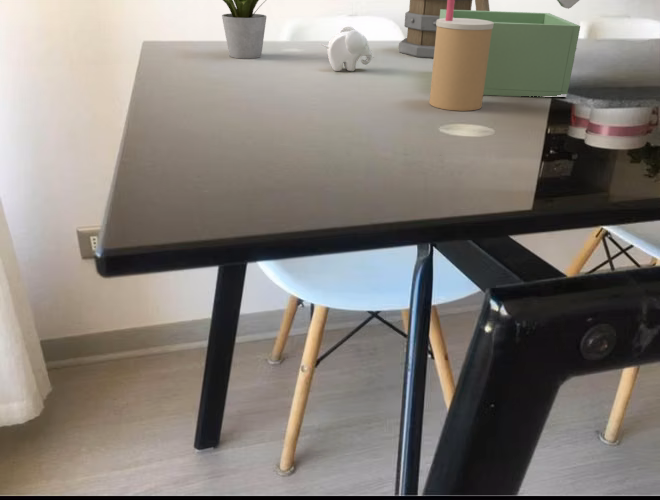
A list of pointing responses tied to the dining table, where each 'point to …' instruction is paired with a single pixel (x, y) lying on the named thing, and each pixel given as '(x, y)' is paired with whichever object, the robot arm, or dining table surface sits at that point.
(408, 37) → the tankard
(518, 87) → the bin
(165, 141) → the dining table surface
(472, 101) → the straw cup
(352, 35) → the elephant figurine
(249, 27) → the house plant
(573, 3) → the robot arm
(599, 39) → the dining table surface
